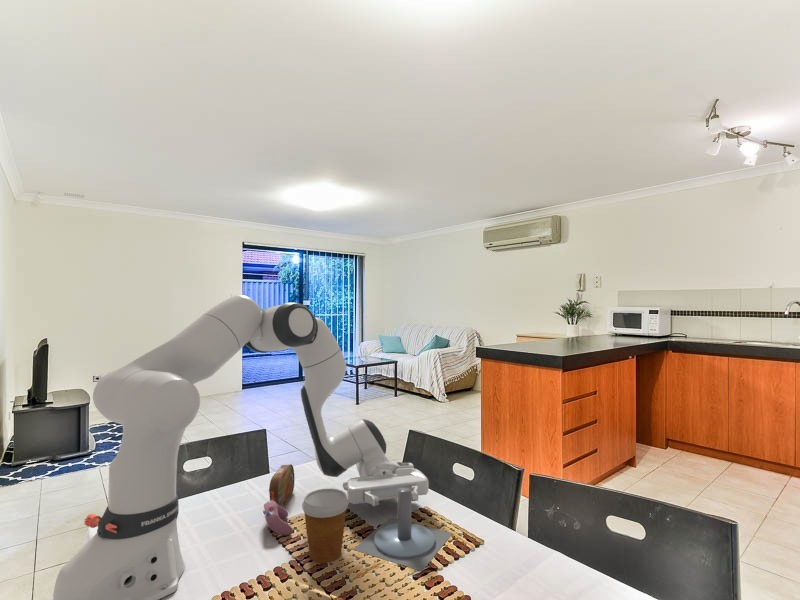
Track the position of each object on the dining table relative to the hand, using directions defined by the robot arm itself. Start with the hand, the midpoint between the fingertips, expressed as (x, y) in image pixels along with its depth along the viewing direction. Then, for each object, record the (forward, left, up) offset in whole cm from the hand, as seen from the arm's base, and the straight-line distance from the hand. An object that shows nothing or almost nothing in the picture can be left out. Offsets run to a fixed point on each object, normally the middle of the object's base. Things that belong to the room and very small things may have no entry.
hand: (396, 500), depth 99 cm
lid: (-4, -4, -6) cm, 9 cm away
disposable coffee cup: (-16, +8, -7) cm, 19 cm away
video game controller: (-12, +25, -7) cm, 28 cm away
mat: (-4, -4, -7) cm, 9 cm away
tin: (-1, +34, -7) cm, 34 cm away
